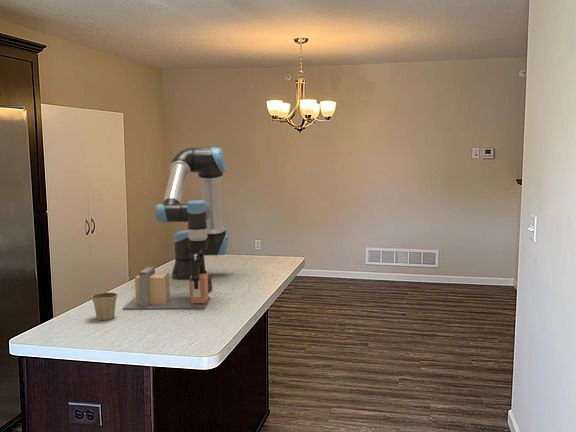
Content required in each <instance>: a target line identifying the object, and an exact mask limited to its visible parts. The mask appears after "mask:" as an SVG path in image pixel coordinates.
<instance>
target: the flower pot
mask: <svg viewBox="0 0 576 432" xmlns="http://www.w3.org/2000/svg"><path fill="white" fill-rule="evenodd" d="M117 297H118V293H117V292H99V293H96V294H93V295H91V296H90V298H91V299H92V302H93V307H94V311H95V315H96V319H97V320H98V321H108V319H110V320H112V319H114V318H115V317H116V316H115V312H116V304H117V303H116V301H117V299H118V298H117Z"/></svg>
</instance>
